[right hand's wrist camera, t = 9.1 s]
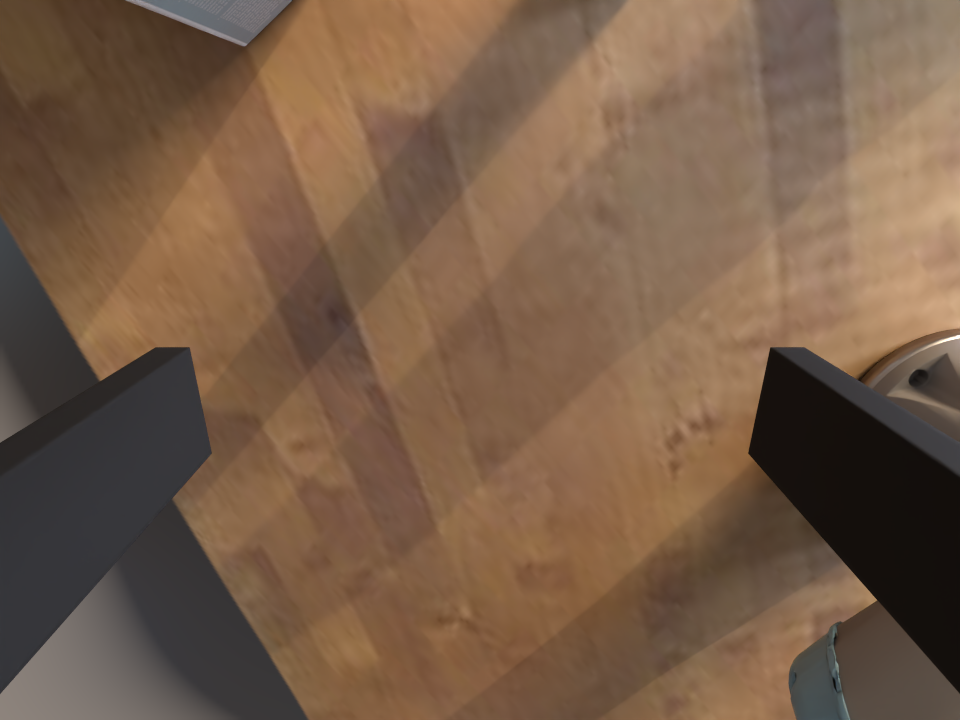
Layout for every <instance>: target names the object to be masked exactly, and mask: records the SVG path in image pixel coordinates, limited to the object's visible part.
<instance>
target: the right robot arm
mask: <svg viewBox="0 0 960 720" xmlns="http://www.w3.org/2000/svg"><path fill="white" fill-rule="evenodd" d="M211 454H212V452H211V447H210V442H209V438H208V433H207V428H206V423H205V419H204V414H203V409H202V404H201V399H200V395H199V390H198V385H197V380H196V376H195V371H194V366H193V361H192V357H191V352H190V347H156V348H154V349H152V350H151V351H149V352H147V353H146V354H144V355H143V356H141V357H139V358H138V359H136V360H134V361H133V362H131V363H130V364H128V365H126V366H125V367H123V368H121V369H120V370H118V371H116V372H115V373H113V374H112V375H110V376H108V377H107V378H105V379H103V380H102V381H100V382H99V383H97V384H95V385H94V386H92V387H90V388H89V389H87V390H86V391H84V392H82V393H81V394H79V395H77V396H76V397H74V398H72V399H71V400H69V401H68V402H66V403H64V404H63V405H61V406H60V407H58V408H56V409H55V410H53V411H51V412H50V413H48V414H47V415H45V416H43V417H42V418H40V419H38V420H37V421H35V422H33V423H32V424H30V425H29V426H27V427H25V428H24V429H22V430H20V431H19V432H17V433H15V434H14V435H12V436H11V437H9V438H7V439H6V440H4V441H2V442H1V443H0V693H1V692H2V691H3V690H4V689H5V688H6V687H7V686H8V684H9V683H10V682H11V681H12V680H13V679H14V678H15V676H16V675H17V674H18V673H19V672H20V671H21V670H22V668H23V667H24V666H25V665H26V664H27V663H28V662H29V660H30V659H31V658H32V657H33V656H34V655H35V654H36V653H37V651H38V650H39V649H40V648H41V647H42V646H43V645H44V643H45V642H46V641H47V640H48V639H49V638H50V637H51V636H52V634H53V633H54V632H55V631H56V630H57V629H58V628H59V626H60V625H61V624H62V623H63V622H64V621H65V620H66V618H67V617H68V616H69V615H70V614H71V613H72V612H73V610H74V609H75V608H76V607H77V606H78V605H79V604H80V602H81V601H82V600H83V599H84V598H85V597H86V596H87V595H88V593H89V592H90V591H91V590H92V589H93V588H94V587H95V585H96V584H97V583H98V582H99V581H100V580H101V579H102V577H103V576H104V575H105V574H106V573H107V572H108V571H109V570H110V568H111V567H112V566H113V565H114V564H115V563H116V562H117V560H118V559H119V558H120V557H121V556H122V555H123V554H124V553H125V551H126V550H127V549H128V548H129V547H130V546H131V544H132V543H133V542H134V541H135V540H136V539H137V538H138V537H139V535H140V534H141V533H142V532H143V531H144V530H145V529H146V528H147V526H148V525H149V524H150V523H151V522H152V521H153V520H154V518H155V517H156V516H157V515H158V514H159V513H160V512H161V510H162V509H163V508H164V507H165V506H166V505H167V504H168V502H169V501H170V500H171V499H172V498H173V497H174V496H175V495H176V493H177V492H178V491H179V490H180V489H181V488H182V487H183V485H184V484H185V483H186V482H187V481H188V480H189V479H190V477H191V476H192V475H193V474H194V473H195V472H196V471H197V470H198V468H199V467H200V466H201V465H202V464H203V463H204V462H205V460H206V459H207V458H208V457H209V456H210V455H211ZM748 454H749V455H750V456H751V457H752V458H753V459H754V460H755V462H756V463H757V464H758V465H759V466H760V467H761V468H762V470H763V471H764V472H765V473H766V474H767V475H768V476H769V477H770V479H771V480H772V481H773V482H774V483H775V484H776V485H777V487H778V488H779V489H780V490H781V491H782V492H783V493H784V495H785V496H786V497H787V498H788V499H789V500H790V501H791V502H792V504H793V505H794V506H795V507H796V508H797V509H798V510H799V512H800V513H801V514H802V515H803V516H804V517H805V518H806V520H807V521H808V522H809V523H810V524H811V525H812V526H813V528H814V529H815V530H816V531H817V532H818V533H819V534H820V535H821V537H822V538H823V539H824V540H825V541H826V542H827V543H828V545H829V546H830V547H831V548H832V549H833V550H834V551H835V553H836V554H837V555H838V556H839V557H840V558H841V559H842V560H843V562H844V563H845V564H846V565H847V566H848V567H849V568H850V570H851V571H852V572H853V573H854V574H855V575H856V576H857V578H858V579H859V580H860V581H861V582H862V583H863V584H864V585H865V587H866V588H867V589H868V590H869V591H870V592H871V593H872V595H873V596H874V597H875V598H876V599H877V601H876V602H874V603H873V604H871V605H870V606H868V607H867V608H865V609H864V610H862V611H861V612H859V613H857V614H856V615H854V616H853V617H851V618H850V619H848V620H846V621H845V622H841V621H840V622H837V623H835V624H834V625H832V626H831V627H830V629H829V632H828V633H827V634H825V635H824V636H823V637H822V638H820V639H819V640H818V641H816V642H815V643H814V644H812V645H811V646H810V647H808V648H807V649H806V650H804V651H803V652H802V653H800V654H799V655H798V656H797V657H796V658H795V660H794V661H793V663H792V665H791V668H790V672H789V689H790V694H791V702H792V706H793V709H794V713H795V716H796V719H797V720H960V329H953V330H946V331H941V332H937V333H933V334H930V335H927V336H924V337H921V338H919V339H916V340H914V341H912V342H910V343H908V344H906V345H904V346H902V347H900V348H898V349H897V350H895V351H894V352H892V353H891V354H889V355H888V356H886V357H885V358H884V359H882V360H881V361H880V362H878V363H877V364H876V365H875V366H874V367H873V368H872V369H870V370H869V371H868V373H867V374H866V375H865V376H864V377H863V378H862V379H861V380H860V381H858V380H857V379H855V378H853V377H852V376H850V375H848V374H847V373H845V372H844V371H842V370H840V369H839V368H837V367H835V366H834V365H832V364H830V363H829V362H827V361H826V360H824V359H822V358H821V357H819V356H817V355H816V354H814V353H813V352H811V351H809V350H808V349H806V348H804V347H770V352H769V357H768V361H767V366H766V371H765V376H764V380H763V385H762V390H761V395H760V399H759V404H758V409H757V414H756V419H755V423H754V428H753V433H752V438H751V442H750V447H749V452H748Z"/></svg>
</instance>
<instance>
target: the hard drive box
mask: <svg viewBox="0 0 960 720" xmlns="http://www.w3.org/2000/svg"><path fill="white" fill-rule="evenodd" d="M126 1H128V2H131V3H133V4H136V5H139V6H141V7H144V8H146V9H149V10H151V11H154V12H156V13H159V14H162V15H164V16H167V17H169V18H172V19H174V20H177V21H179V22H182V23H184V24H187V25H189V26H192V27H194V28H197V29H199V30H202V31H205V32H208V33H210V34H212V35H215V36H218V37H220V38H223V39H225V40H228V41H231V42H233V43H236V44H238V45H241V46H246V45H247V44H248V43H249V42H250V41H251V40H252V39H254V38H255V37H256V36H257V35H258V34H259V33H260V32H261V31H262V30H263V29H264V28H265V27H266V26H267V25H268V24H269V23H270V22H271V21H272V20H273V19H274V18H275V17H276V16H277V15H278V14H279V13H280V12H281V11H282V10H283V9H284V8H285V7H286V6H287V5H288V4H289V3H290V2H291V1H292V0H126Z"/></svg>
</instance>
